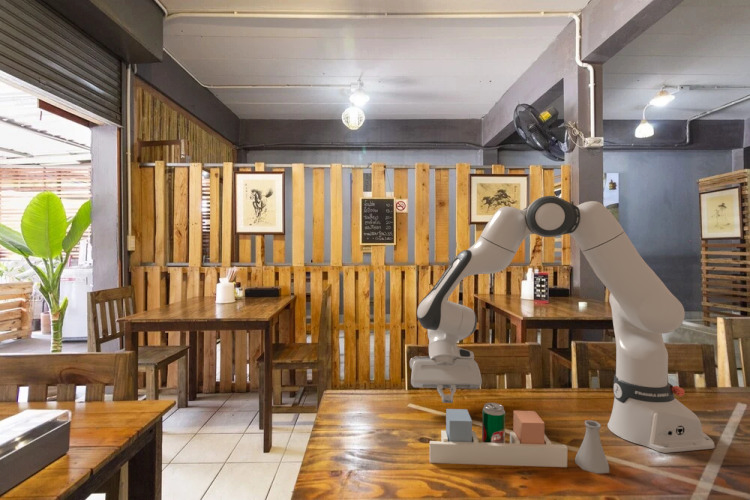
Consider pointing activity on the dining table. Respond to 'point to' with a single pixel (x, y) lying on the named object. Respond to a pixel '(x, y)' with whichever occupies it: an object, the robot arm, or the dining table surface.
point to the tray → (498, 452)
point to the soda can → (493, 423)
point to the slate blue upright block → (458, 425)
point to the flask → (592, 450)
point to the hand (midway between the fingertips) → (447, 402)
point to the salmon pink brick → (528, 427)
